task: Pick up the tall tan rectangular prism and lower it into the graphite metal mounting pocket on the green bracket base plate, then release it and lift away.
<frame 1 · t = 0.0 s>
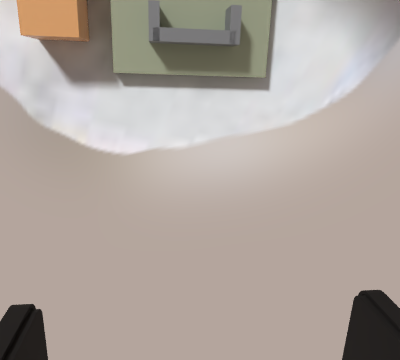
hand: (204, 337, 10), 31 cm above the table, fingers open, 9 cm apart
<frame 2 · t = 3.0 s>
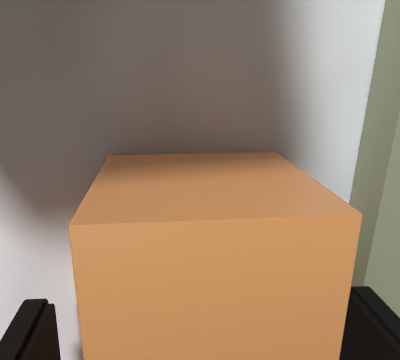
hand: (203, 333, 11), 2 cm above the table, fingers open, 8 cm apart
tall tan rectangular prism: (193, 292, 12), on the table
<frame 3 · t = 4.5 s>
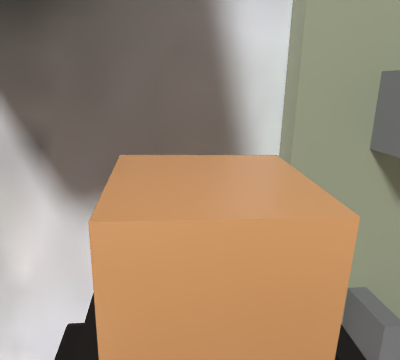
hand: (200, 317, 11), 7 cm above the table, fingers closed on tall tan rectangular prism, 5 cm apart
tall tan rectangular prism: (196, 290, 13), point 5 cm above the table, touching gripper
when the fingers open (3 cm above the table, at t = 8.7 s): tall tan rectangular prism stays where it is, resting on green bracket base plate.
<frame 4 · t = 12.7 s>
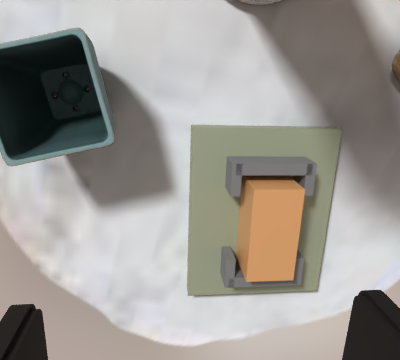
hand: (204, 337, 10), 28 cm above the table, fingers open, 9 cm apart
flower pot: (71, 92, 35), on the table
green bracket base plate: (257, 211, 41), on the table
tall tan rectangular prism: (260, 216, 39), point 1 cm above the table, touching green bracket base plate
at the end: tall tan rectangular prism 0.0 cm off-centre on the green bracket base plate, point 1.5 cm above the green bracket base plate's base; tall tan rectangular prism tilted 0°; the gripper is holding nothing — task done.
